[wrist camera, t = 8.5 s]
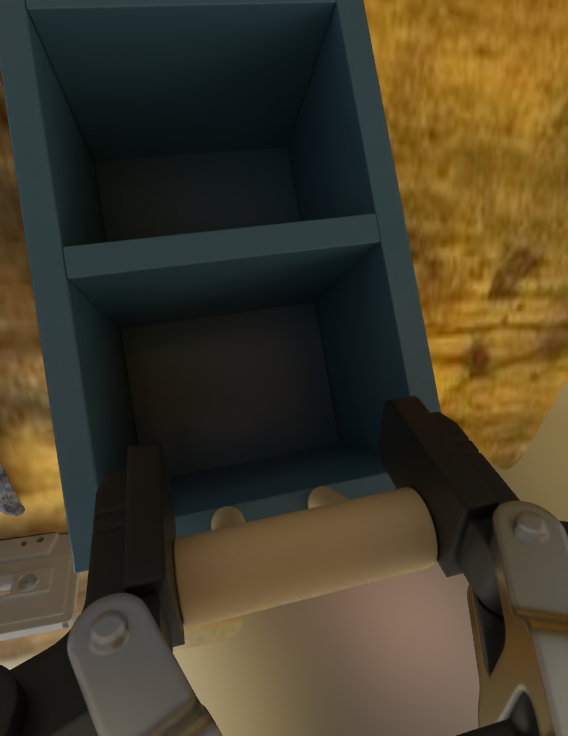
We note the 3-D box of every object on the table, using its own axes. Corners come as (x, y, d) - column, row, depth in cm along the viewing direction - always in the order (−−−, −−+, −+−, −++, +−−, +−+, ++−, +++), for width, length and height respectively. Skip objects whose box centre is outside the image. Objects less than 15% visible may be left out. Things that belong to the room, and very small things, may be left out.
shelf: (359, 464, 26) (577, 544, 11) (128, 512, 24) (3, 693, 9) (300, 134, 27) (426, -212, 12) (72, 150, 24) (-126, -246, 10)
